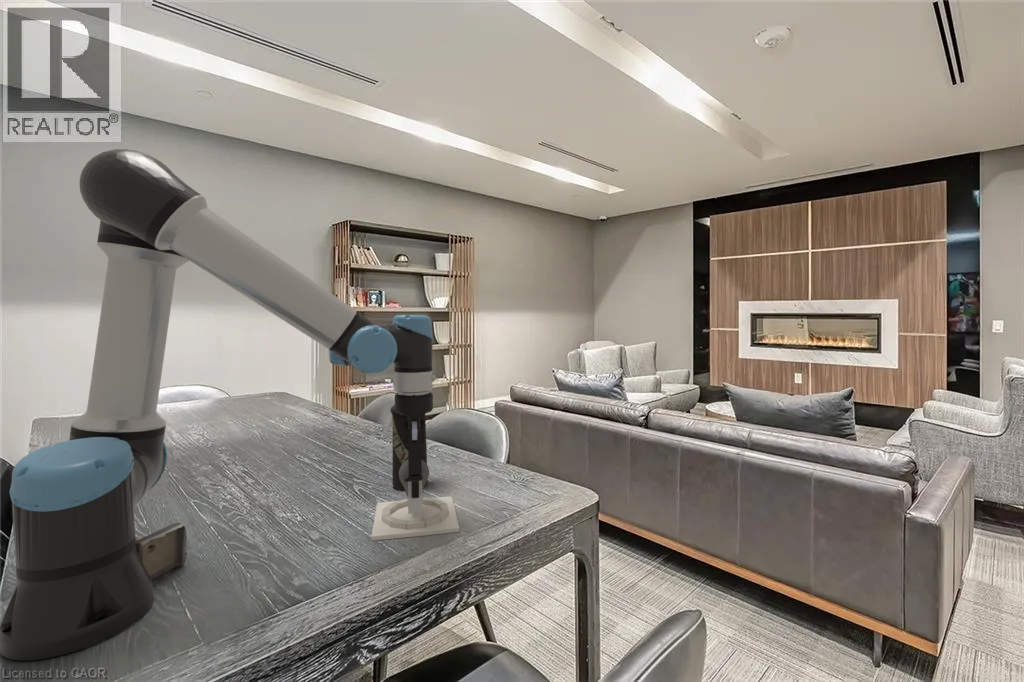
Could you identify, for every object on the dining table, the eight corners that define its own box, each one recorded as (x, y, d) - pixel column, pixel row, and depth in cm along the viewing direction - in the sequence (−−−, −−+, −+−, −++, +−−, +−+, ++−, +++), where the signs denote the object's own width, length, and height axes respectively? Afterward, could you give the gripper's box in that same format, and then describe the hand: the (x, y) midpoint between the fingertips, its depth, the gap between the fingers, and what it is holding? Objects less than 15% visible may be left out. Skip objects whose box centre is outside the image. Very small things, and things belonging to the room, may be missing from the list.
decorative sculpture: (106, 560, 79) (104, 518, 78) (174, 539, 86) (172, 500, 86) (136, 594, 69) (134, 545, 69) (209, 566, 77) (208, 522, 76)
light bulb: (422, 514, 91) (422, 463, 90) (393, 511, 92) (393, 461, 92) (433, 502, 97) (433, 455, 96) (406, 500, 98) (406, 453, 97)
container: (383, 487, 112) (382, 404, 111) (408, 476, 120) (407, 399, 119) (412, 493, 108) (410, 407, 107) (435, 481, 116) (434, 401, 115)
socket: (459, 531, 88) (459, 522, 88) (371, 540, 85) (371, 531, 85) (451, 500, 104) (451, 492, 104) (377, 506, 101) (377, 498, 100)
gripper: (435, 399, 85) (436, 524, 86) (430, 385, 103) (431, 488, 104) (392, 400, 83) (394, 528, 84) (395, 386, 102) (397, 490, 103)
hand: (415, 505), depth 94 cm, fingers closed on light bulb, 6 cm apart
